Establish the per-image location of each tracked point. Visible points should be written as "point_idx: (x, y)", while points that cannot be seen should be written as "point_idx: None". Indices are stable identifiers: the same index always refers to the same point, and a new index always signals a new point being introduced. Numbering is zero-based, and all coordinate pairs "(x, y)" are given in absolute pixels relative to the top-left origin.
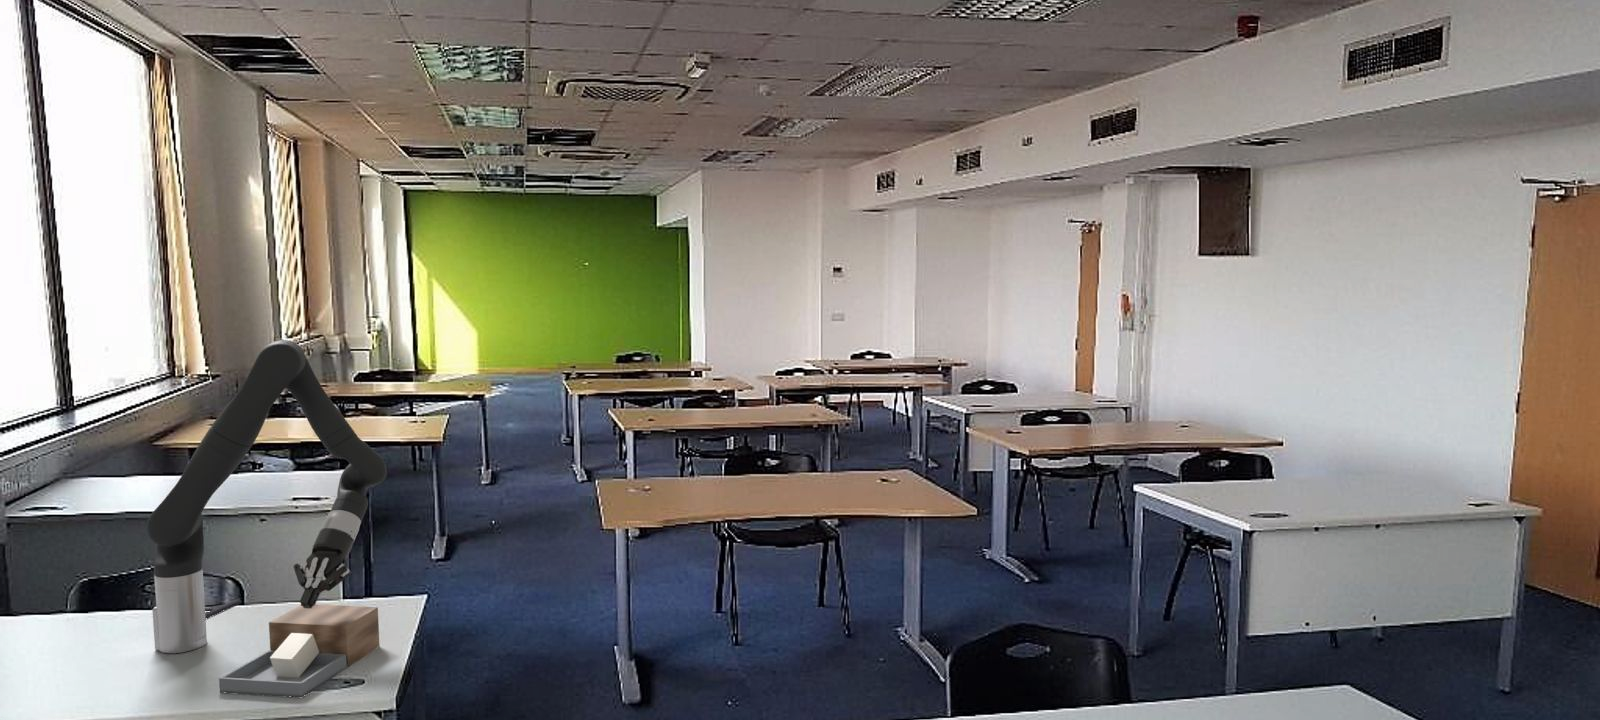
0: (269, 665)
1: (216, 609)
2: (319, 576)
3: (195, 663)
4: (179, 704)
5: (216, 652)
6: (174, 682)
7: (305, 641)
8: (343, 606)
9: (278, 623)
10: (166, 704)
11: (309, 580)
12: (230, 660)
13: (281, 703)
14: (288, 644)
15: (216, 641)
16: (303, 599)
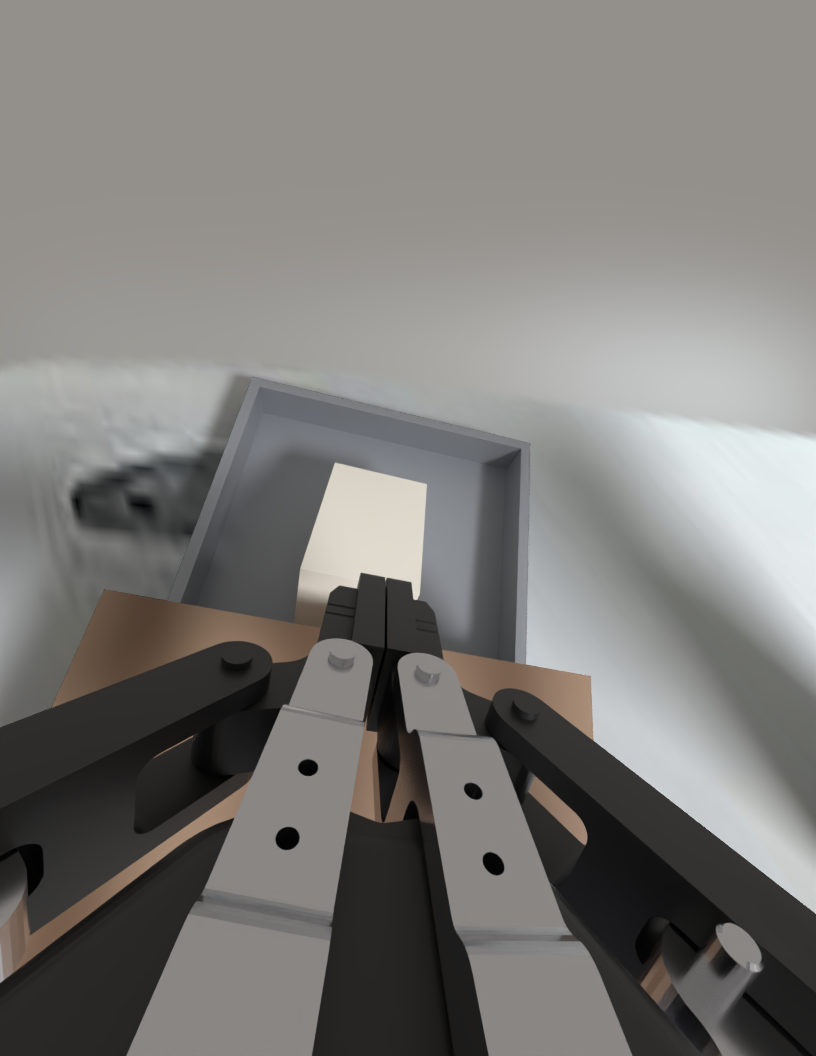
0: (483, 644)
1: None
2: (309, 711)
3: (746, 695)
4: (563, 416)
5: (766, 811)
6: (682, 547)
7: (318, 531)
8: None
9: (533, 667)
10: (593, 420)
11: (441, 715)
12: (658, 723)
13: (304, 386)
14: (390, 529)
15: None
16: (402, 591)
